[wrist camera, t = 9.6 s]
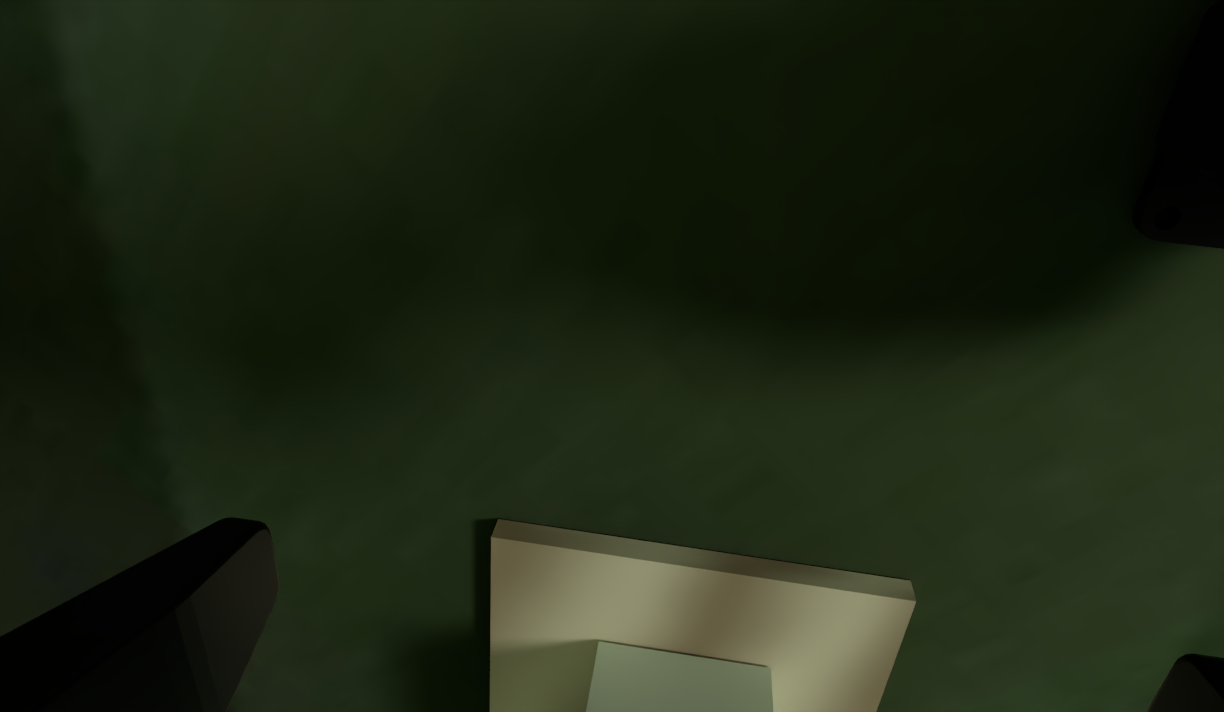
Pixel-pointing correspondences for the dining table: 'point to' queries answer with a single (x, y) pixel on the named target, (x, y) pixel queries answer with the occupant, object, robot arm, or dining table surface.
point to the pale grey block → (674, 683)
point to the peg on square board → (683, 618)
